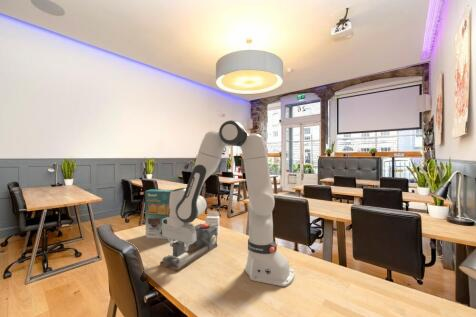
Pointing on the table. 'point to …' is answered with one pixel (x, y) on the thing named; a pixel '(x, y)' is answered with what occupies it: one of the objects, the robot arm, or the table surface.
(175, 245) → the carriage
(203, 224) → the button
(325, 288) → the table surface
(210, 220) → the ink cartridge box
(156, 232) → the cake mix box
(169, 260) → the track
